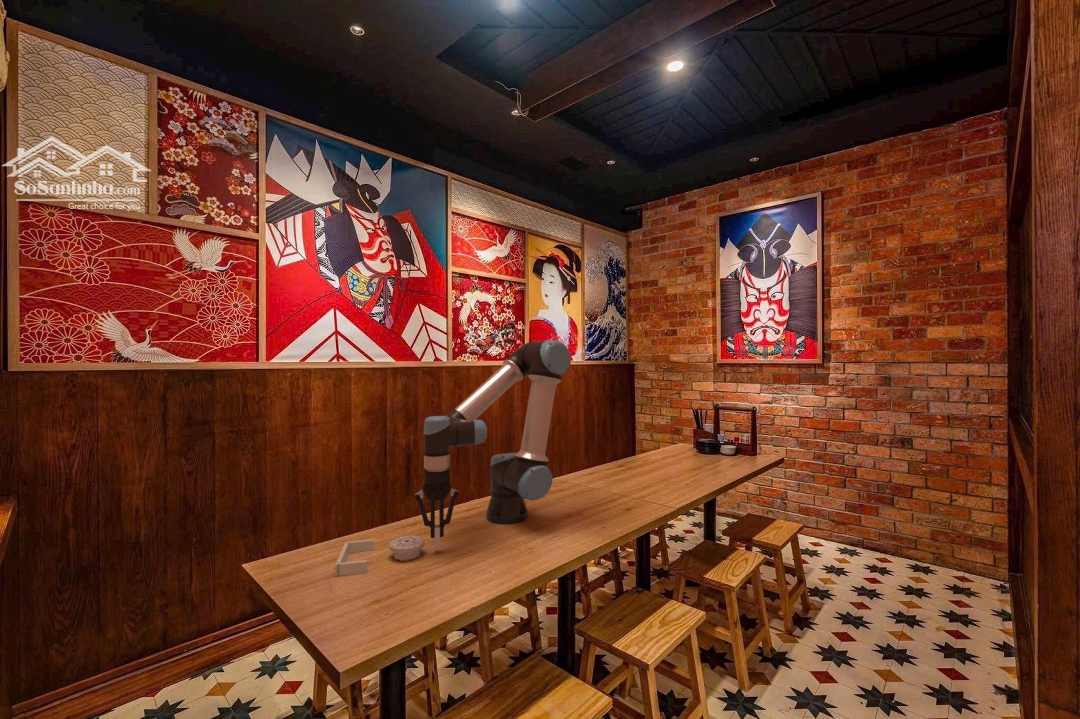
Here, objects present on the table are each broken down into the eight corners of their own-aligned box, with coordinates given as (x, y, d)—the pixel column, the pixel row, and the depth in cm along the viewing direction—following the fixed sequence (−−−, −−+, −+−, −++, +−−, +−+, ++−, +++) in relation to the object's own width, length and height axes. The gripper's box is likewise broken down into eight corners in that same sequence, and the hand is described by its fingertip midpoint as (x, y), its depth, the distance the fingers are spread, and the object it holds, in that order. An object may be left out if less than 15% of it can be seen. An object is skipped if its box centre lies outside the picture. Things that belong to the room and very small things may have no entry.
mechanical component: (395, 534, 139) (427, 534, 139) (395, 549, 139) (428, 548, 139) (384, 548, 129) (420, 547, 129) (384, 563, 129) (420, 563, 129)
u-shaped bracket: (373, 549, 139) (373, 539, 139) (367, 572, 124) (367, 561, 124) (345, 552, 137) (345, 542, 137) (335, 576, 122) (335, 565, 122)
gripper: (458, 464, 141) (458, 541, 141) (414, 467, 138) (414, 545, 138) (460, 470, 134) (460, 550, 134) (413, 473, 131) (414, 555, 131)
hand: (437, 548), depth 136 cm, fingers closed
